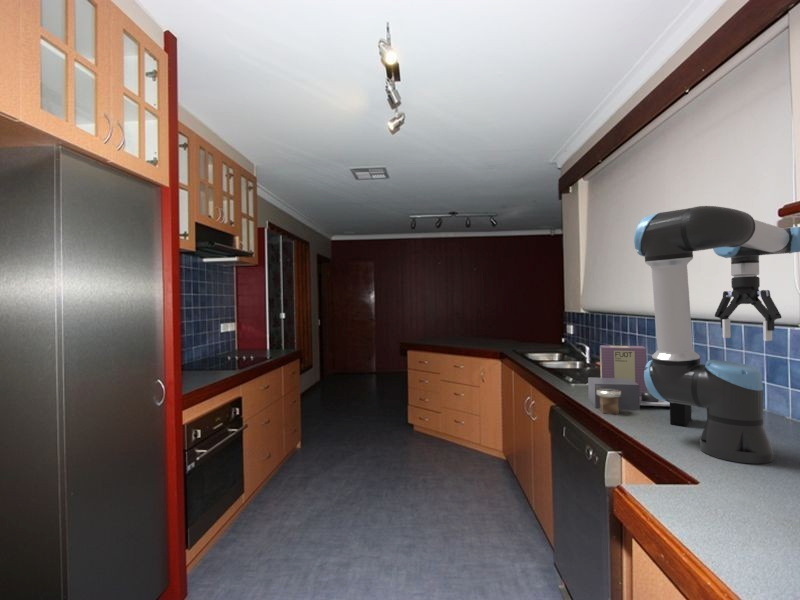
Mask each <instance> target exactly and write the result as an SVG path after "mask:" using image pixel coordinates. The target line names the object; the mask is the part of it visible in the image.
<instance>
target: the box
mask: <svg viewBox="0 0 800 600" xmlns="http://www.w3.org/2000/svg"><path fill="white" fill-rule="evenodd" d="M599 360H600V361H599V365H600V366H599V368H600V369H599V370H600V378H629V379H631V380H632V381H634V382H636V383H637V384H639V396H640V397H641V392H642V391H648V389H647V387H646V384H645V380H644V371H645V370H646V368H645V366H646V364H647V363H648V362H647V347H645V346H643V345H602V344H601V345H599Z"/></svg>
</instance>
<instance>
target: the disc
mask: <svg viewBox="0 0 800 600" xmlns="http://www.w3.org/2000/svg"><path fill="white" fill-rule="evenodd" d="M596 391H597V395H598V396H601V397H608V398H617V397H621V391H620V390H616V389H597V390H596Z"/></svg>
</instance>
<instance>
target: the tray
mask: <svg viewBox="0 0 800 600" xmlns="http://www.w3.org/2000/svg"><path fill="white" fill-rule="evenodd" d="M640 406H649V407H650V406H654V407H670V403H669V402H667V401H663V400H659V399H656V398H655V397H653V396H652V395H651V394H650V393H649V391H648V390H647V391H642V392H641V397H640Z"/></svg>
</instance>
